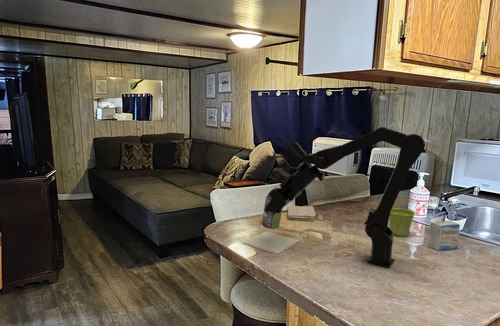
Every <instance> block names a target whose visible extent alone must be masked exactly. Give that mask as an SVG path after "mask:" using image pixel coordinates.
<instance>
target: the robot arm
mask: <svg viewBox="0 0 500 326" xmlns="http://www.w3.org/2000/svg"><path fill="white" fill-rule="evenodd" d="M381 142H385V143H387V144H390V145H392V146H395V147H397V148H399V154H398V158H397V162H396V164H395V167H394V168H393V172H392V174H391V176H390V178H389V181H388V183H387V185H386V186H385V190H384V192H383V195H382V196H381V198H380V201H379V203H378V204H377V207H375V208H373V207H370V208H369V212H368V215H367V216H366V217H365V220H364V221H363V222H364V223H363V225H365V227H364V231H365V233H366V235H367V236H368V237H369V238H370V239H371V248H370V249H371V251H370V257H368V259H366V262H367V263H369V264H373V265H377V266H381V267H384V268H391V266H392V265H393V263H394V262H395V261H396V260H395V258H392V255H393V243H394V235H393V232H392V231H391V228H390V227H389V226H388V225H389V222H390V212H391V209H392V208H393V207H394V205H395V203H396V200H397V198H398V196H399V194H400V191H401V190H402V187H403V184H404V182H405V181H406V178H407V176H408V173H409V172H410V170H411V167H413V165H414V164H415V163H416V161H417V160H418V159H419V157H420V156H421V155H422V153H423V152H424V150H425V148H426V147H425V146H426V142H425V139H424V138H423V137H422V136H421V135H419V134H417V133H409V134H405V133H402V132H399V131H396V130H393V129H391V128H388V127H386V126H379V127H378V128H376V129H375V130H373V131H371V132H368V133H366V134H364V135H361V136H360V137H357V138H355V139H352V140H350V141H348V142H346V143H343V144H340V145H336V146H331V147H328V148H324V149H321V150H318V151H317V152H315V153H312V152H311V153H307V152H306V151H305V150H304V149H303V148H302V146H301V145H300V143H298V142H297V141H295V142H293V143H292V144H291V145H290V146H288V147H287V148H285V149H284V150H283V151H282V152H281V153H280V157H281V159H283V160H284V161H285V163H286V164H287V165H288V166H289V167H290V168H291V169H297V170H296V172H294V173H292V174H290V173H288V172H286V171H285V170H284V169H282V168H279V167H275V168H273V169H272V171H270V173H269V179H271V180H273V181H276V182H277V183H279V187H274V188H272V189H271V190H270V191H269V192H268V193H267V195H268V194H269V196H270V197H271V200H270V202H269V204H268V205H267V207H266V208H265V211H266V212H269V211H272V210H275V209H279V208H281V209H282V210H283V209H284V207H286V206H288V204H289V203H291V202H292V201H294V200H295V199H297V198H298V197H299V196H300V195H301V194H302V192H303V191H304V190H305V189H306V188H307V187H308V186H310V184H311V183H312V182H314V181H315V180H316V179H317V180H318V181H320V182H322V181H324V180H325V179H326V178H325V174H326V172H325V171H321V170H326V169H328V168H330V167H331V166H333V165H334V164H336V163H337V162H339V161H341V160H342V159H343V158H346V157H347V156H349V155H350V156H351V155H352V154H354V153H357V152H359V151H361V150H364V149H367V148H368V147H372V146H374V145H376V144H378V143H381ZM299 167H300V168H299Z"/></svg>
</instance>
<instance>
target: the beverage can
mask: <svg viewBox="0 0 500 326" xmlns="http://www.w3.org/2000/svg"><path fill="white" fill-rule="evenodd" d="M270 200H271V197H270V196H269V194H268V193H267V195H266V197H265V202H264V207H263V213H262V219H261V225H262V227H264V228H265V229H267V230H273V231H274V230H277V229H279V228H280V224H281V219H282V213H283V208H282V209H281V208H279V209H275V210H272V211H269V212H266V211H265V208H266V207H267V205H268V204H269V202H270Z"/></svg>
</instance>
